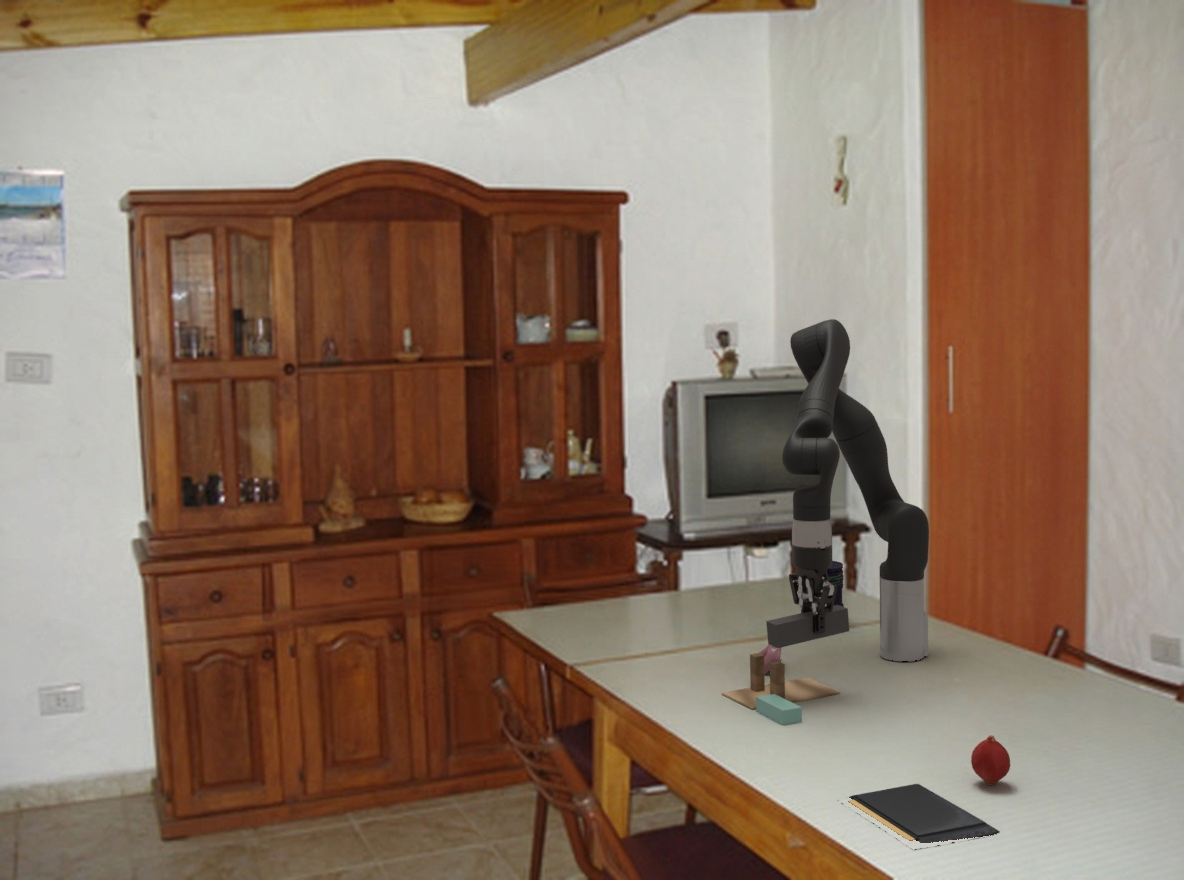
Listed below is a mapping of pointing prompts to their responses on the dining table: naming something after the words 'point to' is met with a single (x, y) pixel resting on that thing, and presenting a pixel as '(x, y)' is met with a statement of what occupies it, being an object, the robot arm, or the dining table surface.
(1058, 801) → the dining table surface
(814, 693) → the board
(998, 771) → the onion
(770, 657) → the video game controller
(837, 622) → the bar
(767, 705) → the block
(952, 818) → the black book
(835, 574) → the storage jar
